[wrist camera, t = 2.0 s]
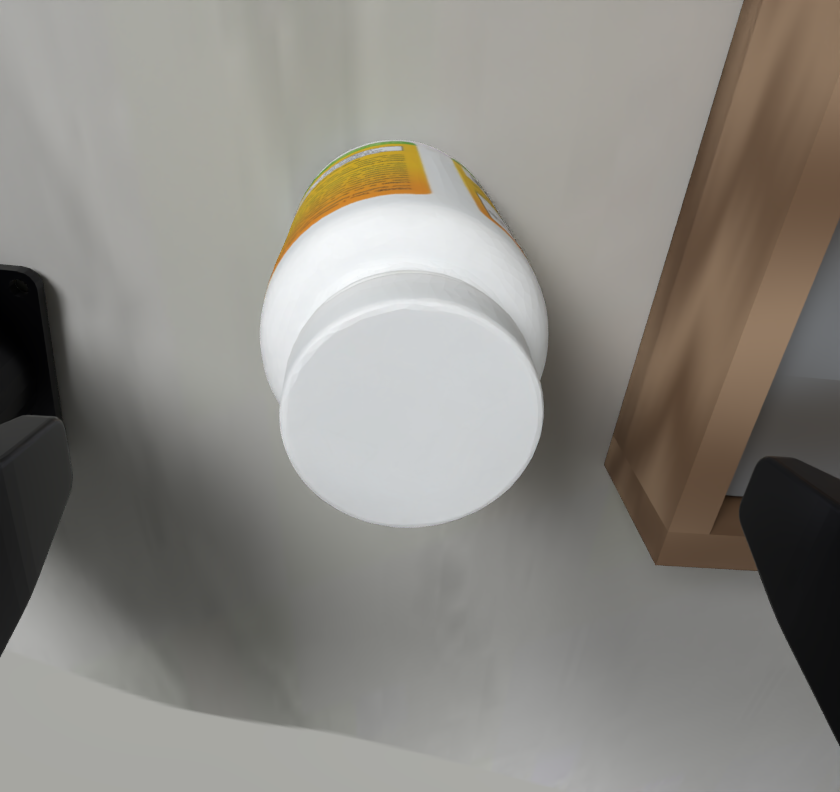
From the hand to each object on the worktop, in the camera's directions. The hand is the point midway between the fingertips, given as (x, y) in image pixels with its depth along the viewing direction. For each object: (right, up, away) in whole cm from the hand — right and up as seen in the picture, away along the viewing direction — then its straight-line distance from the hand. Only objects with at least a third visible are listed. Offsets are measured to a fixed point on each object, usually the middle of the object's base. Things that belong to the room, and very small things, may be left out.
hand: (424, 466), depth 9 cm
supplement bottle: (-1, +5, +11) cm, 12 cm away
